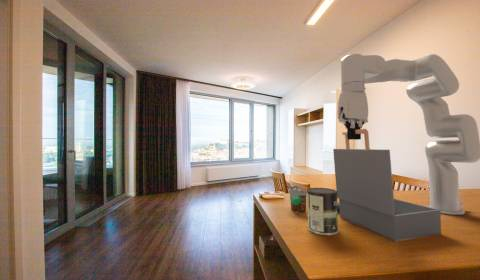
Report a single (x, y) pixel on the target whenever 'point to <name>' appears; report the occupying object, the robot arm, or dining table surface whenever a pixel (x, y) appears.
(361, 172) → the lid
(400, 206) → the box
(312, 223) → the coffee can
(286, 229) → the dining table surface
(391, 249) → the dining table surface
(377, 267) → the dining table surface
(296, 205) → the food container
